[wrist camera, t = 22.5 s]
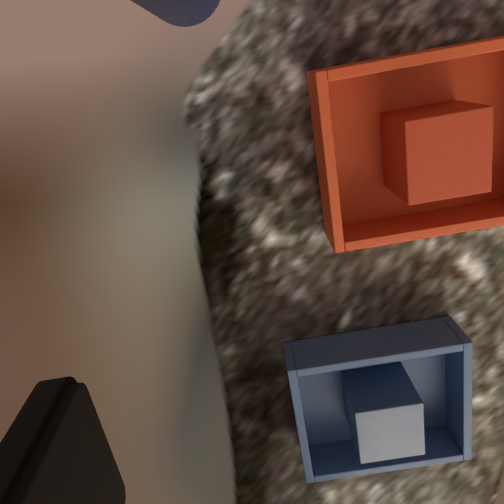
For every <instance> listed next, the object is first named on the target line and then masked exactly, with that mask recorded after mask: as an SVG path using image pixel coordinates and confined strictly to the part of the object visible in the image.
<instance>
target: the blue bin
mask: <svg viewBox="0 0 504 504" xmlns="http://www.w3.org/2000/svg"><path fill="white" fill-rule="evenodd" d="M283 348H284V355H285V361H286V367H287V374H288V379H289V385H290V391H291V397H292V403H293V409H294V414H295V420H296V426H297V432H298V438H299V443H300V449H301V455H302V461H303V467H304V472H305V478H306V483H312V482H319V481H326V480H333V479H340V478H347V477H353V476H360V475H367V474H374V473H381V472H387V471H394V470H401V469H408V468H415V467H422V466H428V465H435V464H442V463H449V462H456V461H462V460H470V459H471V442H472V341H471V340H470V339H469V338H468V337H467V335H466V334H465V333H464V332H463V331H462V329H461V328H460V327H459V326H458V325H457V324H456V322H455V321H454V320H453V319H452V318H451V316H445V317H439V318H433V319H426V320H420V321H414V322H408V323H401V324H395V325H389V326H383V327H376V328H370V329H364V330H357V331H351V332H345V333H339V334H332V335H326V336H320V337H314V338H307V339H301V340H295V341H289V342H283ZM397 362H401V363H402V365H403V366H404V368H405V370H406V372H407V374H408V376H409V377H410V379H411V381H412V383H413V385H414V387H415V388H416V390H417V392H418V394H419V396H420V398H421V399H422V401H423V407H424V432H425V455H418V456H411V457H405V458H398V459H391V460H384V461H377V462H371V463H364V464H360V462H359V458H358V455H357V452H356V449H355V445H354V442H353V439H352V435H351V432H350V429H349V425H348V422H347V419H346V411H345V403H344V395H343V386H342V378H341V371H346V370H353V369H359V368H365V367H372V366H378V365H385V364H391V363H397Z"/></svg>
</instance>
